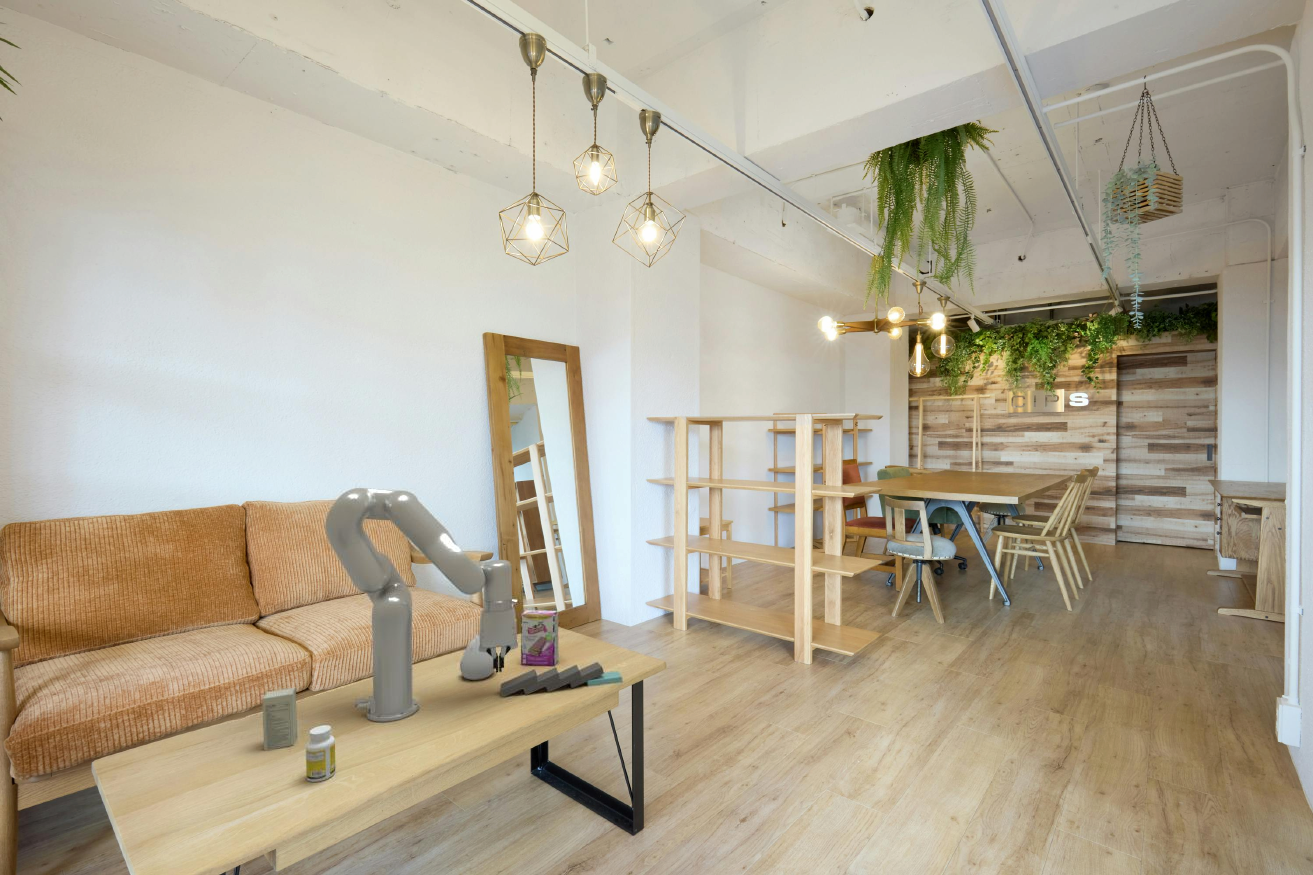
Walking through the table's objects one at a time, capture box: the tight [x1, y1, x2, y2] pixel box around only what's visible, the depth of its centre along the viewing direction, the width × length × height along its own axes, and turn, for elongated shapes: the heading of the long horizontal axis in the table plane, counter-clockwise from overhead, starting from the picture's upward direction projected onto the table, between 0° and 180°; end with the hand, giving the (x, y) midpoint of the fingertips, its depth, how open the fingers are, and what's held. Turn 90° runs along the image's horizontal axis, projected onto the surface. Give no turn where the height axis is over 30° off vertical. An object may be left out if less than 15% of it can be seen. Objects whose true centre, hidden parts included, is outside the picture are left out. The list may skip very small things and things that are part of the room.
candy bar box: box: [520, 609, 559, 667], centre depth 192 cm, size 11×5×16 cm, turn 84°
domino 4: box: [568, 661, 605, 689], centre depth 175 cm, size 2×5×10 cm
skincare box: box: [261, 687, 298, 751], centre depth 141 cm, size 6×4×12 cm
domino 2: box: [522, 666, 560, 696], centre depth 171 cm, size 2×5×10 cm
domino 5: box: [585, 670, 623, 687], centre depth 177 cm, size 2×5×10 cm
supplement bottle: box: [305, 724, 336, 783], centre depth 127 cm, size 5×5×10 cm
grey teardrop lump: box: [459, 634, 495, 681], centre depth 182 cm, size 10×10×12 cm
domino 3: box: [545, 664, 581, 693], centre depth 173 cm, size 2×5×10 cm
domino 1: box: [500, 668, 538, 698], centre depth 170 cm, size 2×5×10 cm
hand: (498, 670), depth 168 cm, fingers closed
